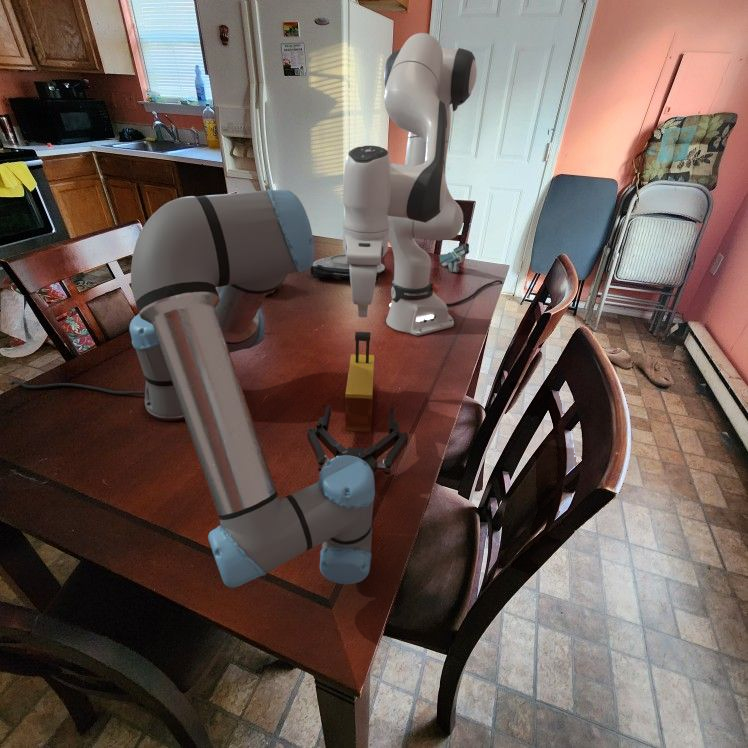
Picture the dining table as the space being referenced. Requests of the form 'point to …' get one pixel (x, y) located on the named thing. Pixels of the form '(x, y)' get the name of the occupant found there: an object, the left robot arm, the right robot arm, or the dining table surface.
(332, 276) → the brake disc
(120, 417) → the dining table surface
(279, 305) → the dining table surface
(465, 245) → the toy gun
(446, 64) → the right robot arm
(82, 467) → the dining table surface
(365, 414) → the chest
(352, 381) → the lid
